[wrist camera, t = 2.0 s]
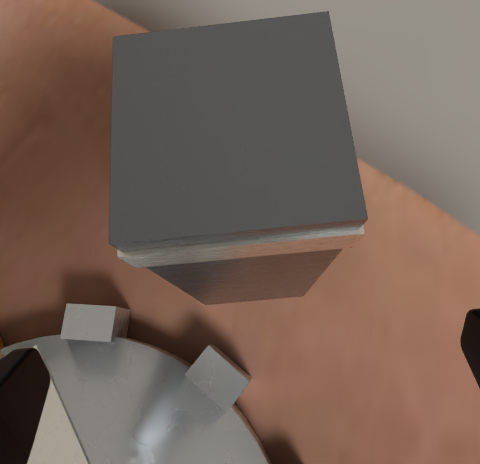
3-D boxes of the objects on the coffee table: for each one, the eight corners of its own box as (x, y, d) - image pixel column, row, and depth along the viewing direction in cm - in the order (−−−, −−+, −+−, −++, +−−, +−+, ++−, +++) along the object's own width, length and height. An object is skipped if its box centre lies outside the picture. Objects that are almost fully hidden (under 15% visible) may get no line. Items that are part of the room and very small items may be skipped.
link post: (305, 297, 19) (374, 223, 7) (203, 307, 19) (103, 249, 7) (292, 202, 21) (332, 7, 9) (198, 211, 21) (108, 33, 9)
